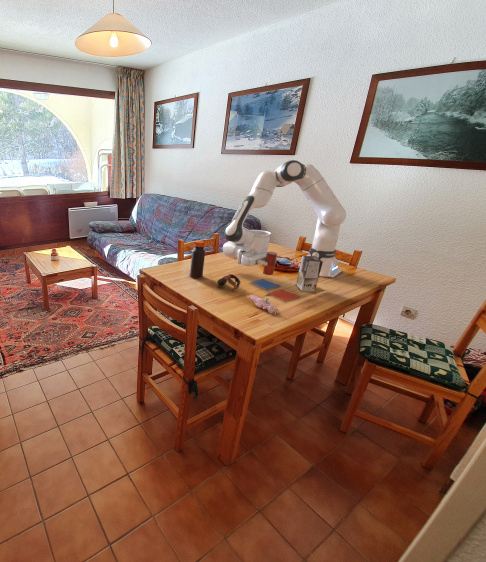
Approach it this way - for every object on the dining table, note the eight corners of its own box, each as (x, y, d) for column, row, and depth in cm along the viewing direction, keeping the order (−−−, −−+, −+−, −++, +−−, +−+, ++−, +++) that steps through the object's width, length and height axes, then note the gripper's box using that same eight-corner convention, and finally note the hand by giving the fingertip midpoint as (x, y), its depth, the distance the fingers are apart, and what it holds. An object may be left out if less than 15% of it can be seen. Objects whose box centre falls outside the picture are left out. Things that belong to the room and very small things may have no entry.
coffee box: (315, 292, 153) (323, 261, 147) (301, 291, 154) (308, 260, 148) (308, 285, 161) (316, 255, 155) (295, 284, 162) (302, 255, 156)
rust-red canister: (266, 271, 162) (270, 251, 158) (275, 274, 158) (279, 253, 154) (260, 272, 160) (264, 252, 155) (269, 275, 156) (273, 255, 151)
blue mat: (262, 279, 168) (263, 279, 168) (279, 286, 160) (279, 285, 160) (250, 283, 163) (250, 282, 163) (267, 290, 155) (267, 289, 155)
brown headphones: (225, 283, 164) (235, 272, 159) (234, 296, 159) (245, 286, 154) (209, 282, 158) (219, 270, 153) (219, 296, 152) (229, 285, 147)
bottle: (199, 279, 168) (203, 244, 160) (187, 276, 172) (191, 242, 164) (204, 276, 173) (208, 241, 165) (193, 273, 177) (196, 239, 169)
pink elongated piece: (279, 315, 134) (251, 297, 145) (284, 304, 131) (255, 286, 142) (271, 319, 131) (242, 300, 142) (275, 307, 128) (246, 289, 139)
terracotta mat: (281, 290, 155) (281, 289, 155) (299, 296, 148) (299, 295, 148) (267, 294, 150) (267, 293, 150) (284, 302, 143) (285, 301, 143)
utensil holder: (238, 254, 209) (242, 229, 202) (260, 255, 208) (265, 229, 202) (246, 261, 195) (250, 234, 189) (269, 262, 195) (275, 235, 188)
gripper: (260, 258, 173) (283, 265, 162) (235, 264, 163) (257, 272, 152) (262, 247, 170) (285, 253, 159) (236, 252, 161) (259, 260, 150)
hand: (271, 262), depth 156 cm, fingers closed on rust-red canister, 5 cm apart
